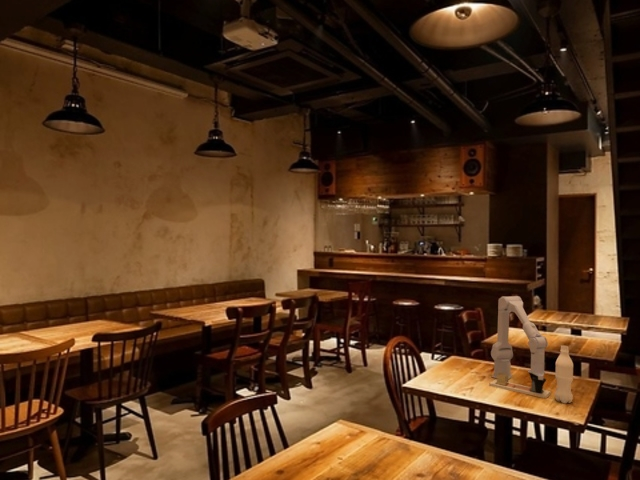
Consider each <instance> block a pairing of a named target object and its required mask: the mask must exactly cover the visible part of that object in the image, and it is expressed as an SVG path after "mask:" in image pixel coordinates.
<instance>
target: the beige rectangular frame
mask: <svg viewBox="0 0 640 480" xmlns="http://www.w3.org/2000/svg"><path fill="white" fill-rule="evenodd" d="M488 386H489V387H493V388H499V389H502V390H507V391H512V392H516V393H520V394H525V395H530V396H534V397H539V398H544V399H548V397H549V396H550V395H551V394H552V392H551V391H550V390H547V389H543V393H542V394H540V393H535V392H531V386H527V385H522V384H519V383H514V382H509V381H508V385H507V386H503V385H498V384H497V379H494V380H492V381H491V382H489V385H488Z"/></svg>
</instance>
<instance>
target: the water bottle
mask: <svg viewBox="0 0 640 480" xmlns="http://www.w3.org/2000/svg"><path fill="white" fill-rule="evenodd" d="M559 351H560V353H559V355H558V357H557V359H556V361H555V374H554V376H555V379H556V390H555V392H554V397H555V399H556V401H557V402H560V403H562V404H567V403H568V404H571V402H572V400H573V399H574V396H573V392H572V389H571V388H572V387H571V386H572V382H573V381H574V362H573V360H572V358H571V357H570V351H569V346H568V345H560V350H559Z"/></svg>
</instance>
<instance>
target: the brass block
mask: <svg viewBox="0 0 640 480" xmlns="http://www.w3.org/2000/svg"><path fill="white" fill-rule="evenodd" d="M496 380H497V384H498V385H503V386H507V385H508V382H509V379H508V374H505V373H498V374H497V378H496Z"/></svg>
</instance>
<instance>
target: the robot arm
mask: <svg viewBox="0 0 640 480" xmlns="http://www.w3.org/2000/svg"><path fill="white" fill-rule="evenodd" d="M497 309H498V311H497V312H498V313H497V314H498V315H497V335H496V336H497V339H496V342H495V343H493V344H492V347H491V351H490V355H491V358H492V359H493V361H494V366H493V370H494V371H493V373H494V374H493V375H491V377H490V378H494V379H497V374H498V373H505V374H508V380H510V378H512V377H513V375H512V373H511V371H512V368H511V367H512V365H511V359H513V357H514V353H513V346H512V344H510V343H509V335H510V330H509V328H510V327H509V326H510V314H511V313H512V312H513V313H515V315H516V317H518V319H519V321H520V322H521V324H522V330H523V332H524V333H525V335H526V337H527V339H528V342H527V343H528V347H529V351H530V369H528V370H527V372H528V374H529V376H530V379H531V381H532V380H534V384H535V390H536V393H541V392H542V388H543V389H544V385H545V383H546V380H547V378H544V376H545V372H546V371H545V350H546V348H547V347H548V344H549V343H548V340H547V338H546V337H545V336H544V335H543V334H541V333H540V331H539V330H538V328H537V326H536V325H535V323H534V322H531V321H530V319H529V317H528V314H527V313H526V311H525V309H524V302H523V300H522V298H521V296H519V295H515V296H503V295H502V296H501V297H500V298H498V307H497Z"/></svg>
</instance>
